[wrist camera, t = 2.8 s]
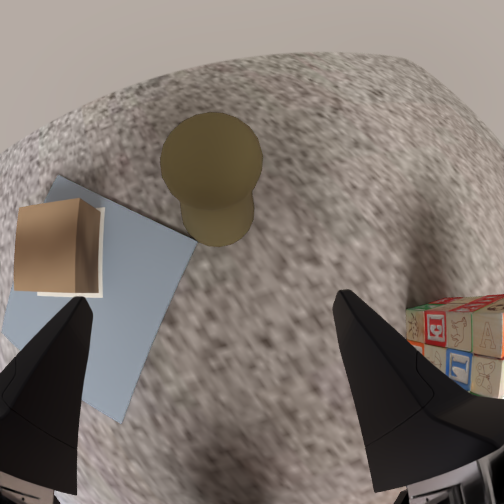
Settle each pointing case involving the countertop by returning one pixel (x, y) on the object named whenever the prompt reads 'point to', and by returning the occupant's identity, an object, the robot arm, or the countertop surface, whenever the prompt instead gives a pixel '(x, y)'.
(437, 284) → the countertop surface
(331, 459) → the countertop surface
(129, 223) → the mat
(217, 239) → the olive pawn
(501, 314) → the stack of blocks
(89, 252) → the walnut block
